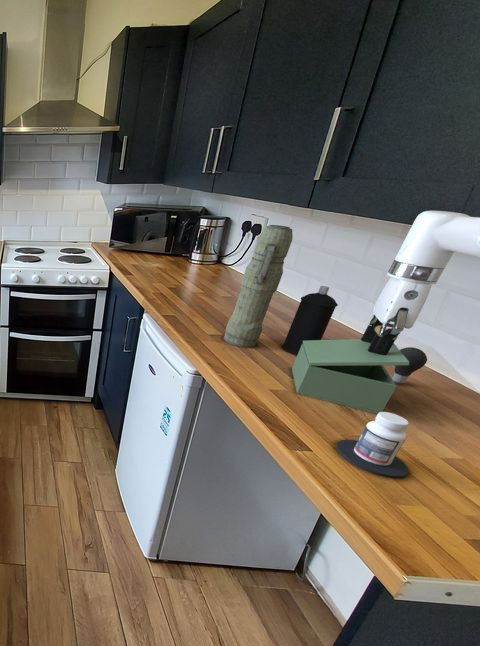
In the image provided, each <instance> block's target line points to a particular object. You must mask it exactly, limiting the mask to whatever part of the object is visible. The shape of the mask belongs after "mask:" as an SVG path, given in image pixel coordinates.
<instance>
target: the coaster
mask: <svg viewBox="0 0 480 646" xmlns="http://www.w3.org/2000/svg"><path fill="white" fill-rule="evenodd" d="M357 442H358V440H356V439H355V440H354V439H342V440H339V441H338V442H337V443H336V445H335V449H336V451H337V453H338V454H339V455H340V456H341V457H342V458H343V459H344V460H345V461H347V462H348V463H350V464H351V465H353V466H355V467H357V468H359V469H361V470H363V471H364V472H365V471H366V472H368V473H370V474H373V475H376V476H379V477H383V478H388V479H404V478H406V477H407V476H408V474H409V467H408V466H407V464H405V462H403V461H402V460H401V459H400V458H399V457H397V455H396V456H395V458H394V460H393V461H392V463H391V464H390V465H386V466H383V465H377V464H374V463H371V462H368V461H366V460H364V459H363V458H361V457H359V456H358V455H357V454H356V453H355V451H354V448H355V446H356V444H357Z"/></svg>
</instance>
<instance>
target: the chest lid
mask: <svg viewBox="0 0 480 646" xmlns="http://www.w3.org/2000/svg"><path fill="white" fill-rule="evenodd" d="M380 328H381V326H377V327H375V331H376V333H377V334H379V331H380ZM387 329H388V328H386V330H387ZM386 330H385V331H386ZM370 344H371V343H367V342H363V341H361V338H346V339H321V340H310V341H303V345H304V348H305V352H306V355H307V358H308V361H309V365H310V366H349V365H383V366H395V365H409V361H408V360H407V359H406V357H405V356H404V355H403V354H402V353H401V351H400V349H399V347H397V345H396V344H395V342H394V343H393V345H392V347H391V349H390V350H389V352H388V354H387V355H380V354H376V353H371V352H369V351H368V348H369V346H370Z"/></svg>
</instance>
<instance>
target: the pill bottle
mask: <svg viewBox="0 0 480 646" xmlns="http://www.w3.org/2000/svg"><path fill="white" fill-rule="evenodd" d="M408 426H409V421H408V420H407V419H406V418H404V417H402V416H401V415H398V414H396V413H393V412H388V411H383V412H379V413H378V414H376V417H375V418H374V420H372V421H371V420H370V421H369V422H367V424H366V425H365V427H364V429H363V431H362V432H361V435H360V436H359V439H358V440H357V441H358V442H357V444H356V446H355V448H354V451H355V453H356V454H357V455H358V456H359V457H361V458H363V459H364V460H366V461H368V462H371V463H374V464H377V465H383V466H386V465H390V464H391V463H392V461H393V460H394V458H395V456H396V457H397V454H398V453H399V451H400V449H401V447H402V446H403V444H404V443H405V441H406V439H407V434H406V432H405V431H406V430H407V428H408Z"/></svg>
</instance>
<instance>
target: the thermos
mask: <svg viewBox="0 0 480 646" xmlns="http://www.w3.org/2000/svg"><path fill="white" fill-rule="evenodd" d="M293 237H294V235H293V229H292V228H290V226H287V225H279V224H269V225H266V226H265V227H264V228H263V230H262V231H261V233H260V234H259V236H258V239H257V242H256V245H255V248H254V251H253V256H252V257H251V260H250V261H249V262H248V264H247V265H246V267H245V270H244V272H243V273H244V274H243V276H242V279H241V282H240V286H241V288H240V291H239V294H238V297H237V300H236V303H235V306H234V310H233V312H232V315H231V317H230V318H229V319H228V321H227V323H226V327H225V330H224V332H225V334H224V335H223V340H224V341H225V342H226V343H228V344H230V345H233V346H236V347H240V348H248V349H249V348H250V349H251V348H255V347H256V346H257V342H258V340H259V339H260V337H261V334H262V331H263V322H264V321H265V320H264V319H265V317H266V314H267V312H268V309H269V306H270V303H271V301H272V298H273V295H274V294H275V293H276V292H277V291H278V288H279V285H280V282H281V280H282V276H283V274H284V264H285V259H286V257H287V255H288V253H289V250H290V247H291V244H292V242H293Z"/></svg>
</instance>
